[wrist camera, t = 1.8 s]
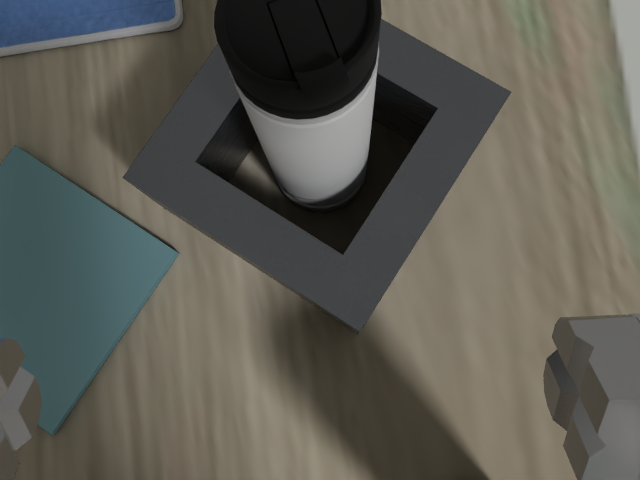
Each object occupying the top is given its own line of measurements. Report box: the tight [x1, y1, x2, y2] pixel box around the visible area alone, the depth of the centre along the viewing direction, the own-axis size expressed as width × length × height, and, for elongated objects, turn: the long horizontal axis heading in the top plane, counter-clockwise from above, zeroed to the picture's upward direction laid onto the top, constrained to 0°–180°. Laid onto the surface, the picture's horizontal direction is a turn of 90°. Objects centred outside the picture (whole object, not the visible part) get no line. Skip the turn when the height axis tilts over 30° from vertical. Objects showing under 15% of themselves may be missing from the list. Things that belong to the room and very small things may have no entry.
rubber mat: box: [0, 145, 179, 435], centre depth 40 cm, size 14×14×1 cm
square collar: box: [123, 19, 511, 334], centre depth 37 cm, size 16×16×7 cm
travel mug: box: [214, 0, 382, 212], centre depth 31 cm, size 6×7×20 cm
